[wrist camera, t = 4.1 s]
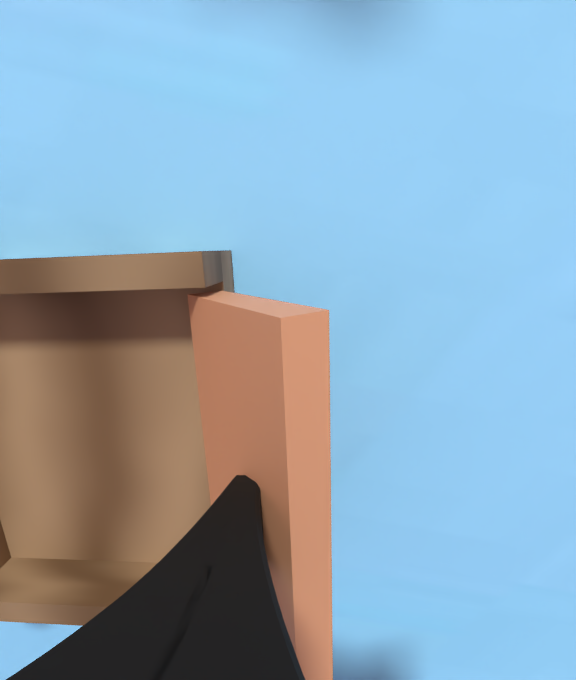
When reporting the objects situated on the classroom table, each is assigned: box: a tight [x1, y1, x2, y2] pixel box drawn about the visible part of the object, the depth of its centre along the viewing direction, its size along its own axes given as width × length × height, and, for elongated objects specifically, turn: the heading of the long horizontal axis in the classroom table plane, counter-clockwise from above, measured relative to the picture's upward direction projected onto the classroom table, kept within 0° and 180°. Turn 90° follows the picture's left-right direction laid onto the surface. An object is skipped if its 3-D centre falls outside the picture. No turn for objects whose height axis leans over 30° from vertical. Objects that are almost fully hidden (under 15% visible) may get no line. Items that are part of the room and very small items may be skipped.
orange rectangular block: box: [187, 291, 333, 680], centre depth 11 cm, size 1×11×6 cm
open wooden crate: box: [0, 251, 234, 625], centre depth 13 cm, size 12×14×4 cm
